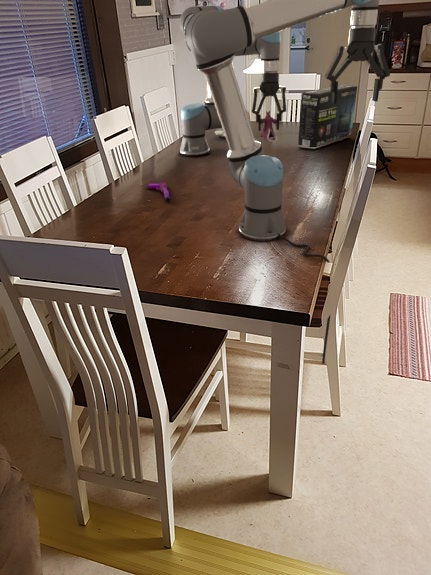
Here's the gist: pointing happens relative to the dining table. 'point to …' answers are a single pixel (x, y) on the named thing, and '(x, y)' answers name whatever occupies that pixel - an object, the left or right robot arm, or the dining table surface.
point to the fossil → (220, 132)
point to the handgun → (162, 188)
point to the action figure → (268, 127)
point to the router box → (326, 115)
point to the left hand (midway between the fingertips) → (268, 129)
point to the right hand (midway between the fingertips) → (354, 102)
